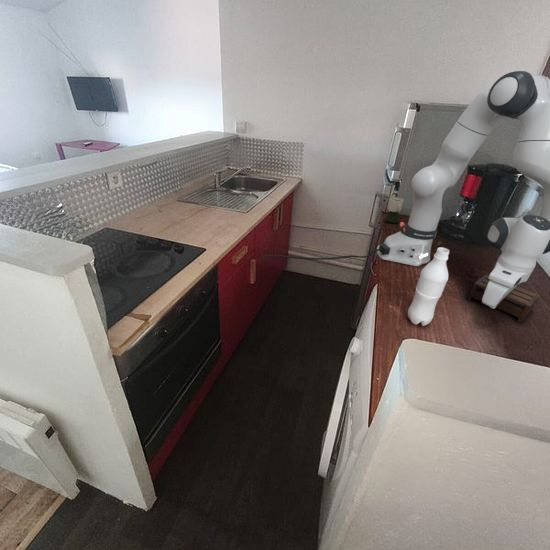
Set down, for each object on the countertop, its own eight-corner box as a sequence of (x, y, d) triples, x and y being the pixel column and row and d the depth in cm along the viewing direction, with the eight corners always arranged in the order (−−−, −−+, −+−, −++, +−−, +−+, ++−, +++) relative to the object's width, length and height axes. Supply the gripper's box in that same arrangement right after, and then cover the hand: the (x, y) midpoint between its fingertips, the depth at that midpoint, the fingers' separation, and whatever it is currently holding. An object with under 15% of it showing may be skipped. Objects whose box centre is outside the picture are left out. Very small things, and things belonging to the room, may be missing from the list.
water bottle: (401, 313, 95) (424, 244, 82) (422, 312, 96) (448, 243, 83) (412, 328, 89) (438, 256, 76) (434, 327, 90) (464, 255, 77)
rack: (519, 323, 92) (530, 306, 89) (466, 299, 103) (473, 283, 100) (530, 311, 98) (540, 295, 95) (479, 289, 109) (486, 274, 105)
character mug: (401, 225, 160) (407, 202, 153) (388, 225, 160) (394, 202, 153) (393, 218, 169) (399, 196, 163) (381, 218, 169) (386, 196, 162)
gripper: (512, 256, 96) (494, 291, 103) (487, 275, 85) (469, 313, 92) (535, 264, 92) (515, 299, 99) (512, 285, 81) (491, 323, 88)
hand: (493, 306), depth 95 cm, fingers closed
